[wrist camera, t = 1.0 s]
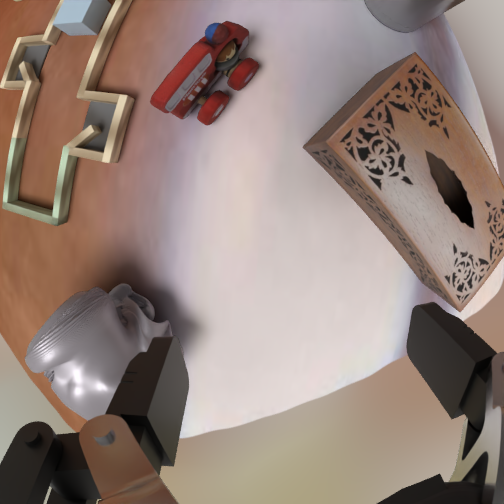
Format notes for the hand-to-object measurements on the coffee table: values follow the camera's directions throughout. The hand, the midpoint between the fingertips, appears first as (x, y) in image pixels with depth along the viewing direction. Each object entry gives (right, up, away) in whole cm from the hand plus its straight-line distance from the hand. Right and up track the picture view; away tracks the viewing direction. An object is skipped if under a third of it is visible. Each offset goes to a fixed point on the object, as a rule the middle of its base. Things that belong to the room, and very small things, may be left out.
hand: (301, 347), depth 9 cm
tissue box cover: (+19, +12, +26) cm, 34 cm away
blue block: (-23, +34, +17) cm, 45 cm away
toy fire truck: (-6, +23, +21) cm, 32 cm away
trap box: (-27, +24, +20) cm, 41 cm away
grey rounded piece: (-21, -9, +30) cm, 38 cm away
